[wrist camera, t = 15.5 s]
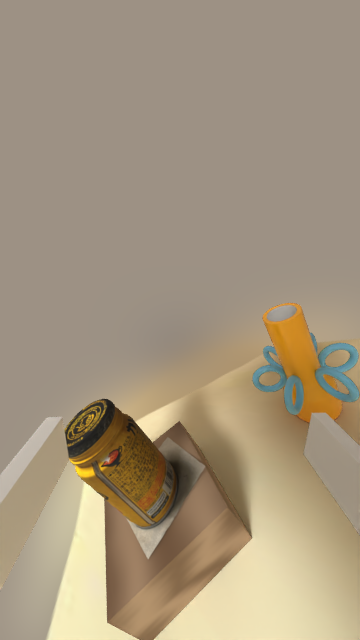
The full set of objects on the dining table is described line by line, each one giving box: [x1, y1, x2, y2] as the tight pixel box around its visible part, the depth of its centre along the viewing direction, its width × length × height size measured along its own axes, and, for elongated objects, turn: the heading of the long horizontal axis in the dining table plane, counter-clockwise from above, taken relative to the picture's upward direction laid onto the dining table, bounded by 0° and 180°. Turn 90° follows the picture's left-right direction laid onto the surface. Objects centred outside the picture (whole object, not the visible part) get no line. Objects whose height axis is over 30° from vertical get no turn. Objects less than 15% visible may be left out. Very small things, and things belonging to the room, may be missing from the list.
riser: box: [104, 421, 252, 640], centre depth 24 cm, size 12×12×6 cm
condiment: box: [64, 399, 205, 559], centre depth 21 cm, size 7×8×12 cm
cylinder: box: [253, 303, 359, 423], centre depth 26 cm, size 12×10×15 cm
